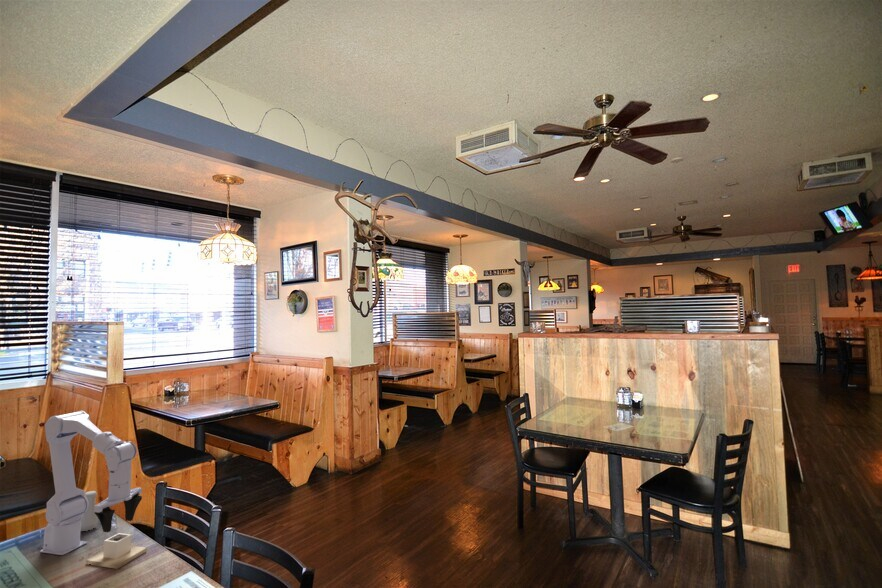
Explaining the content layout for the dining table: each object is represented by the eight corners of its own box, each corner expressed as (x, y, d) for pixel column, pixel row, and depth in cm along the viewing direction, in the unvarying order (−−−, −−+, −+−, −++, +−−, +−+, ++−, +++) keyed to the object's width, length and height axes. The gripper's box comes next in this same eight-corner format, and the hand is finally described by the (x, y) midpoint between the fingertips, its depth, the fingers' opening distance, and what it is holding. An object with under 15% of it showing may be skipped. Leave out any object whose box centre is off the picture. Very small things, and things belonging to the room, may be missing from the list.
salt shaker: (86, 533, 153) (87, 496, 154) (73, 532, 154) (74, 494, 155) (102, 526, 159) (103, 489, 159) (89, 524, 160) (91, 488, 160)
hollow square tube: (103, 557, 136) (103, 540, 136) (118, 548, 141) (118, 533, 141) (116, 558, 135) (116, 542, 135) (130, 550, 140) (131, 534, 140)
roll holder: (86, 564, 134) (86, 543, 134) (116, 547, 144) (117, 528, 144) (117, 568, 131) (118, 547, 132) (146, 551, 141) (147, 532, 142)
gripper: (108, 492, 131) (106, 538, 130) (149, 475, 145) (148, 516, 144) (89, 490, 132) (87, 535, 132) (132, 473, 147) (131, 514, 146)
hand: (118, 525), depth 138 cm, fingers open, 7 cm apart
